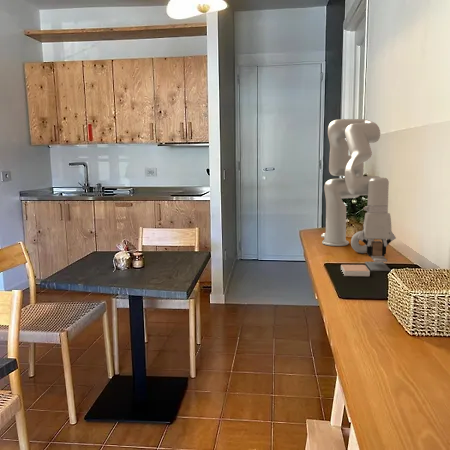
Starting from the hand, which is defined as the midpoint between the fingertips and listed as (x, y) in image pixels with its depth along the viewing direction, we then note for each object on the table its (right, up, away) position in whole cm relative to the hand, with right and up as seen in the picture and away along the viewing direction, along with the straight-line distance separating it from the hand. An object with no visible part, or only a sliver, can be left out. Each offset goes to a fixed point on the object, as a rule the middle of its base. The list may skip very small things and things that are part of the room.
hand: (376, 255), depth 177 cm
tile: (-11, -4, -5) cm, 13 cm away
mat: (0, -4, -2) cm, 5 cm away
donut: (+1, -1, +22) cm, 22 cm away
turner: (0, -1, -3) cm, 3 cm away
